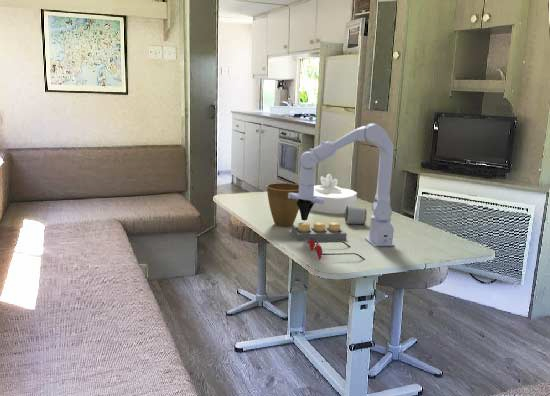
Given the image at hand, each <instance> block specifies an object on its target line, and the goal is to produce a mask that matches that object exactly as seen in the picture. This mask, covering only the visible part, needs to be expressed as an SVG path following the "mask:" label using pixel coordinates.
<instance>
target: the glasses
mask: <svg viewBox="0 0 550 396" xmlns="http://www.w3.org/2000/svg"><path fill="white" fill-rule="evenodd" d="M311 238H312V237H311ZM306 243H307V244H308V246H309V249H310V251H313V250H315V252H316V255H317V258H318V261H320V260H321V259H322V256H333V255H334V256H335V255H339V256H340V255H356V256H358V257H359V258H360V259H362V260H363V261H365V260H366V258H364V257H363V256H362V255H360V254H358V253H355V252H349V253H348V252H347V253H346V252H344V253H343V252H342V253H339V252H338V253H323V248H322V246H321V245H320V244H321V243H343V244H344V245H345V246H347V247H348V248H351V245H349V244H348V243H346V241H345V242H344V241H341V240H340V241H339V240H321V241H317V240H314V239H313V238H312V240H311V239H310V240H307V241H306ZM319 243H320V244H319Z"/></svg>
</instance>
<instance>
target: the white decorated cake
mask: <svg viewBox="0 0 550 396" xmlns="http://www.w3.org/2000/svg"><path fill="white" fill-rule="evenodd" d="M319 179H320V183H321V184H320V185H317V184H316V185H314V196H316V197H319V198H323V199H324V204H322V205H321V204H318V203H314V205H313V207H312V208H311V210H310V211H315V212H319V213H325V214H326V213H327V214H337V215H338V214H345V211H346V207H347V206H356V207H357V196H358V192H357V191H355V190H353V189H349V188H342V187H340V186H338V182H339V180H338V179H337V178H334V179H333V176H332V174H331V173H328V174H327V175H326V176H325V177H324V176H323V175H321V176H320V178H319Z"/></svg>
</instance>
